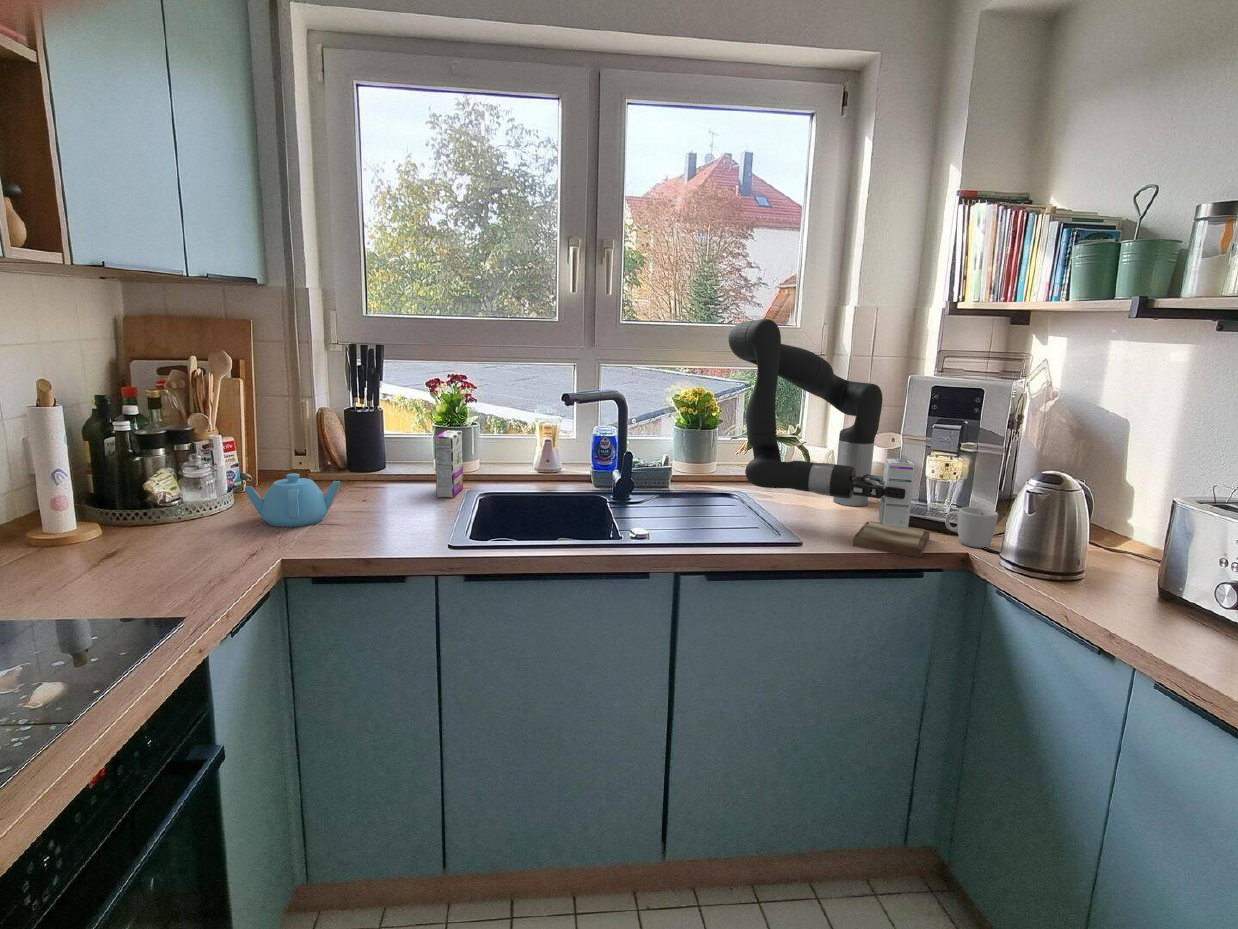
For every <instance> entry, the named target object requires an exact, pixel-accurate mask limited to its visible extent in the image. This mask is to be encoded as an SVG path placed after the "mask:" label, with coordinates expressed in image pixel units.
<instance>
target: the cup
mask: <svg viewBox="0 0 1238 929" xmlns="http://www.w3.org/2000/svg"><path fill="white" fill-rule="evenodd" d="M952 516H953V517H956V520H957V524H956V526H952V525H951V522H950V520H951V519H950V518H951V517H952ZM998 519H999V513H998V512H997V511H995V510H991V509H989V508H984V507H977V506H963V507H960V508H959V510H952V511H950V512H947V513H946V516H945V518H944V521H945V522H944V523H945V527H946V528H947V529H948V530H949V531H951V532H952V533H953V532H954V533H957V534H958V540H959V542H960V543H961V544H962V545H964V546H966V547H970V548H978V549H985V548H984V547H986V548H988V547H989V546H991V545H992V542H993V539H994V533H995V531H996V526H997V523H998Z"/></svg>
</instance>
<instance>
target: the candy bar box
mask: <svg viewBox="0 0 1238 929" xmlns="http://www.w3.org/2000/svg"><path fill="white" fill-rule="evenodd" d="M434 458H435V488H436V489H435V490H436V491H435V492H436V494H435V495H436V498H438V499H439V498H440V499H441V498H443V499H449V498H450V499H451V498H452V499H453V498H454V499H455V497H456V496H457V495H458V494H459V493H460V492H461V491H462V490H463V489H464V475H463V474H464V472H463V471H464V469H463V468H464V467H463V465H464V464H463V462H464V461H463V431H462V430H448V429H447V430H444V431H442V432H441V433H439V434H438V435H436V436H434Z"/></svg>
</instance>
